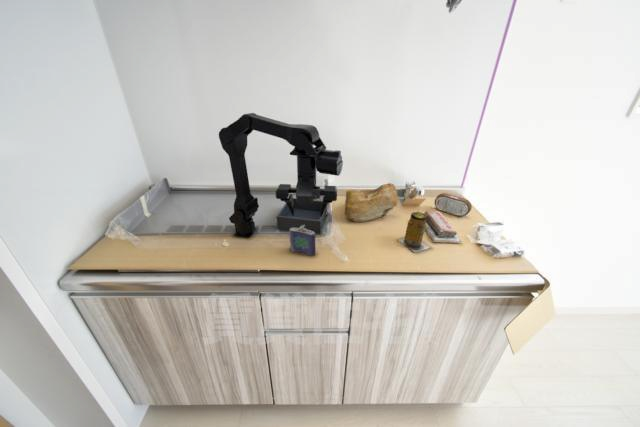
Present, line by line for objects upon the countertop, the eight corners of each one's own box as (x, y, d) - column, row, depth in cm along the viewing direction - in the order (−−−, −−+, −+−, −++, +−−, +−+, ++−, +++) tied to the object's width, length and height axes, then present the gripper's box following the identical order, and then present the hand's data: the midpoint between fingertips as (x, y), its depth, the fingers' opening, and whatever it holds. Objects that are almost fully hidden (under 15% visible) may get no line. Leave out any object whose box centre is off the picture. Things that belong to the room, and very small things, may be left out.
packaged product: (420, 209, 103) (443, 209, 103) (417, 218, 106) (440, 219, 105) (436, 232, 88) (464, 233, 87) (433, 243, 90) (460, 244, 90)
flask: (289, 251, 84) (287, 225, 79) (292, 246, 87) (291, 221, 81) (314, 257, 82) (314, 230, 76) (316, 252, 84) (317, 226, 79)
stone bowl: (382, 205, 118) (384, 175, 112) (399, 219, 104) (403, 186, 97) (336, 210, 114) (336, 180, 108) (347, 226, 100) (348, 192, 93)
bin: (277, 228, 97) (276, 216, 94) (290, 208, 112) (289, 197, 109) (320, 234, 94) (320, 221, 91) (327, 212, 109) (327, 201, 106)
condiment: (412, 236, 94) (419, 208, 88) (429, 248, 87) (438, 219, 81) (398, 240, 91) (404, 212, 85) (414, 253, 84) (422, 224, 78)
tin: (468, 217, 108) (474, 200, 104) (466, 219, 106) (472, 202, 101) (433, 206, 116) (438, 190, 112) (431, 208, 114) (436, 192, 110)
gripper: (269, 179, 65) (273, 227, 73) (338, 181, 64) (335, 230, 72) (277, 166, 75) (280, 210, 82) (337, 168, 74) (335, 212, 82)
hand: (307, 215), depth 79 cm, fingers open, 9 cm apart
